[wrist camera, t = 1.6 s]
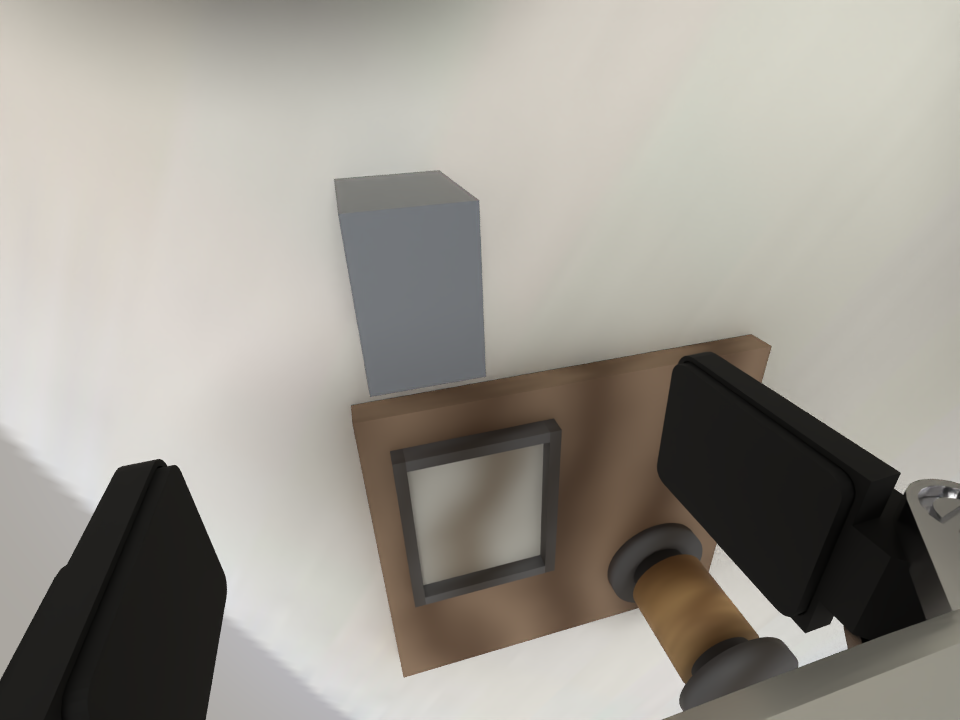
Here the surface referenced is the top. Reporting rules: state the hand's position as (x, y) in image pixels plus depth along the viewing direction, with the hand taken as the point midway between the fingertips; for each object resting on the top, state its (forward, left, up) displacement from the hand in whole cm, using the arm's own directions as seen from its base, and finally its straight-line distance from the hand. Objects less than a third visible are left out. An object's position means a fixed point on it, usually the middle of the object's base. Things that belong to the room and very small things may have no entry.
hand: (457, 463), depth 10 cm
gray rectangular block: (-1, 0, -13) cm, 13 cm away
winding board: (-9, +17, -13) cm, 23 cm away
